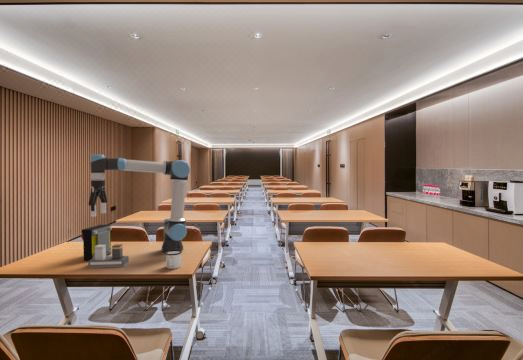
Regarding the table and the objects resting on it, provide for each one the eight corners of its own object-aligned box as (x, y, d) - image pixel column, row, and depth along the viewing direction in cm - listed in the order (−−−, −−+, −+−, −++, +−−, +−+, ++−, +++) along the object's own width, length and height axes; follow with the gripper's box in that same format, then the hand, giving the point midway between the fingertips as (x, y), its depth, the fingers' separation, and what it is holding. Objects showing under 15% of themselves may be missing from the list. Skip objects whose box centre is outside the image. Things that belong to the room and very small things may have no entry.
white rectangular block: (106, 262, 188) (105, 244, 188) (102, 264, 184) (102, 246, 183) (98, 262, 188) (97, 244, 187) (94, 264, 183) (94, 246, 183)
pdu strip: (128, 262, 192) (128, 255, 192) (123, 266, 183) (123, 260, 182) (95, 263, 190) (95, 256, 190) (88, 267, 181) (88, 261, 181)
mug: (167, 264, 187) (167, 250, 187) (183, 264, 187) (183, 249, 187) (162, 271, 175) (162, 255, 175) (178, 270, 175) (178, 255, 175)
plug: (122, 261, 189) (122, 244, 189) (120, 264, 185) (119, 246, 184) (115, 261, 189) (114, 244, 188) (112, 264, 184) (111, 246, 184)
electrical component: (95, 261, 193) (94, 230, 192) (81, 260, 195) (80, 229, 194) (113, 253, 210) (113, 225, 210) (100, 253, 212) (100, 224, 212)
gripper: (100, 179, 197) (100, 211, 198) (81, 180, 172) (82, 218, 173) (112, 179, 197) (112, 211, 198) (95, 180, 173) (95, 217, 173)
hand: (98, 214), depth 185 cm, fingers open, 13 cm apart
